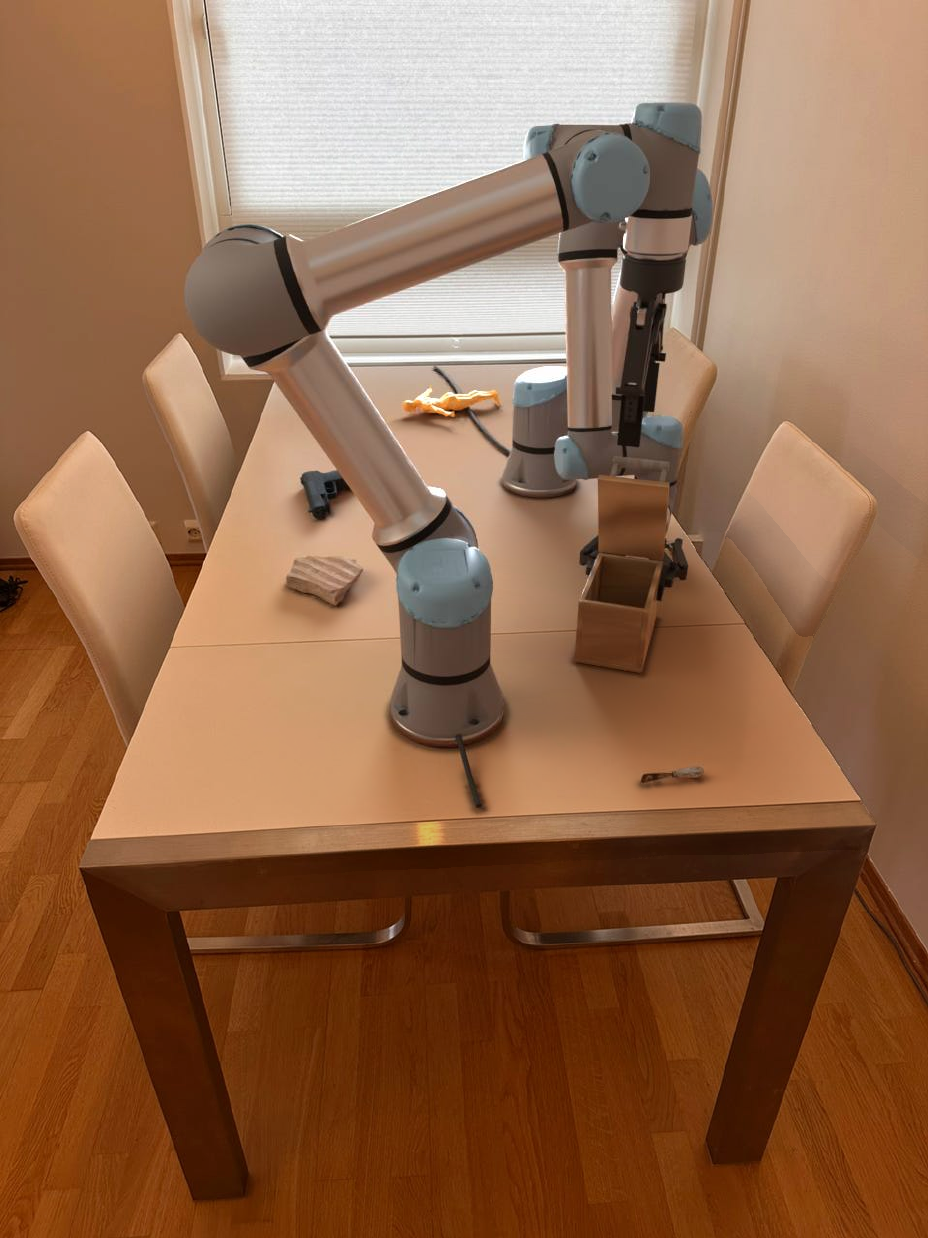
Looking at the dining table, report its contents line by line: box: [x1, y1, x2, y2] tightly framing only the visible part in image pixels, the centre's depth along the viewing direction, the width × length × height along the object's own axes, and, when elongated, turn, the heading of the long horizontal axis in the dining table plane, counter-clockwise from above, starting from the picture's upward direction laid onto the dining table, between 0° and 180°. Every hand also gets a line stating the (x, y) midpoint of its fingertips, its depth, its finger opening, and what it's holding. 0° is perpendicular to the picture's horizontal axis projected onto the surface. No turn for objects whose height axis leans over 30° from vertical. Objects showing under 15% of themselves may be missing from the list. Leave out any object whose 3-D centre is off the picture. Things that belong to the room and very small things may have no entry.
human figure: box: [402, 385, 500, 418], centre depth 225 cm, size 20×20×4 cm
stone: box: [284, 555, 364, 606], centre depth 150 cm, size 13×12×2 cm
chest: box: [574, 553, 663, 674], centre depth 133 cm, size 16×10×10 cm, turn 162°
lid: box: [597, 456, 670, 560], centre depth 132 cm, size 16×10×8 cm
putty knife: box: [640, 765, 705, 784], centre depth 109 cm, size 1×8×2 cm, turn 103°
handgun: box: [299, 469, 351, 520], centre depth 179 cm, size 3×18×12 cm
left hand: (636, 427), depth 116 cm, fingers open, 13 cm apart
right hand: (624, 587), depth 136 cm, fingers closed on chest, 10 cm apart
